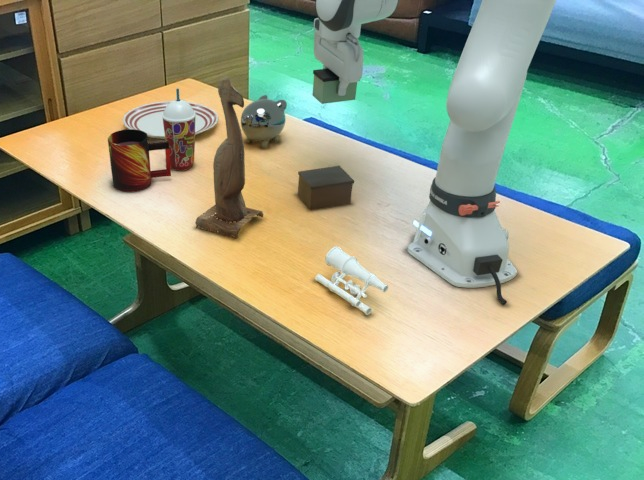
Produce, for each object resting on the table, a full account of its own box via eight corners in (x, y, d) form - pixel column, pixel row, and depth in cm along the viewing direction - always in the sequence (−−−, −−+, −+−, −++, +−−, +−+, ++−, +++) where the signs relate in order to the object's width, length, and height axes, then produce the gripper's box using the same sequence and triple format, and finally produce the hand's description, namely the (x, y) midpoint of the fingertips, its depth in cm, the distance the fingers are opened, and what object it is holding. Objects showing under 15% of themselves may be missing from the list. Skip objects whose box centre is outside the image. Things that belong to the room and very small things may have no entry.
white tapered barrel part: (372, 319, 126) (360, 311, 122) (322, 285, 135) (309, 276, 131) (398, 284, 125) (386, 274, 121) (345, 252, 134) (333, 242, 130)
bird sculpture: (240, 241, 146) (242, 93, 126) (194, 228, 151) (189, 83, 131) (264, 218, 153) (269, 75, 133) (219, 207, 158) (217, 66, 138)
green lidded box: (356, 100, 161) (359, 74, 157) (321, 104, 159) (323, 78, 155) (345, 91, 166) (348, 65, 162) (311, 95, 164) (313, 70, 160)
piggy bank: (296, 138, 187) (298, 97, 180) (261, 156, 179) (262, 113, 172) (264, 128, 193) (266, 88, 186) (229, 145, 185) (229, 103, 178)
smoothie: (193, 174, 172) (190, 95, 159) (162, 172, 174) (156, 94, 161) (200, 160, 178) (197, 83, 166) (169, 158, 180) (164, 82, 167)
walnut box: (351, 204, 157) (354, 180, 153) (309, 211, 155) (311, 187, 152) (337, 188, 163) (339, 165, 160) (296, 194, 162) (298, 171, 158)
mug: (172, 179, 170) (170, 133, 162) (125, 196, 164) (120, 149, 157) (152, 166, 176) (148, 121, 169) (106, 182, 170) (100, 136, 163)
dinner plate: (184, 103, 211) (183, 92, 209) (237, 130, 193) (237, 118, 191) (106, 125, 199) (105, 113, 197) (156, 155, 181) (155, 144, 179)
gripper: (374, 39, 145) (365, 103, 154) (336, 15, 161) (330, 74, 169) (346, 42, 144) (339, 106, 153) (311, 17, 160) (306, 77, 168)
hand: (334, 89), depth 161 cm, fingers closed on green lidded box, 6 cm apart
